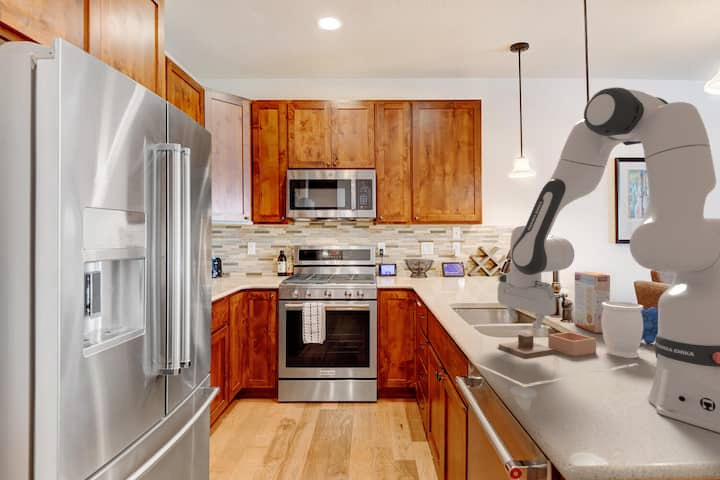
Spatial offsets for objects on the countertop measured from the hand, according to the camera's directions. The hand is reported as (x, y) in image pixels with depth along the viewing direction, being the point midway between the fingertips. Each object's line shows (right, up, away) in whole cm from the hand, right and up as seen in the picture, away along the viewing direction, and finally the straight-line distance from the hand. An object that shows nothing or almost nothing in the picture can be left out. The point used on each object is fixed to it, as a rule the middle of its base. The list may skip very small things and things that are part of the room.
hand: (524, 324), depth 124 cm
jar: (+27, -9, -3) cm, 29 cm away
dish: (+13, -8, -1) cm, 16 cm away
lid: (0, -8, 0) cm, 8 cm away
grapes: (+44, -8, +9) cm, 46 cm away
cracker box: (+36, -8, +29) cm, 47 cm away
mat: (0, -8, 0) cm, 8 cm away
